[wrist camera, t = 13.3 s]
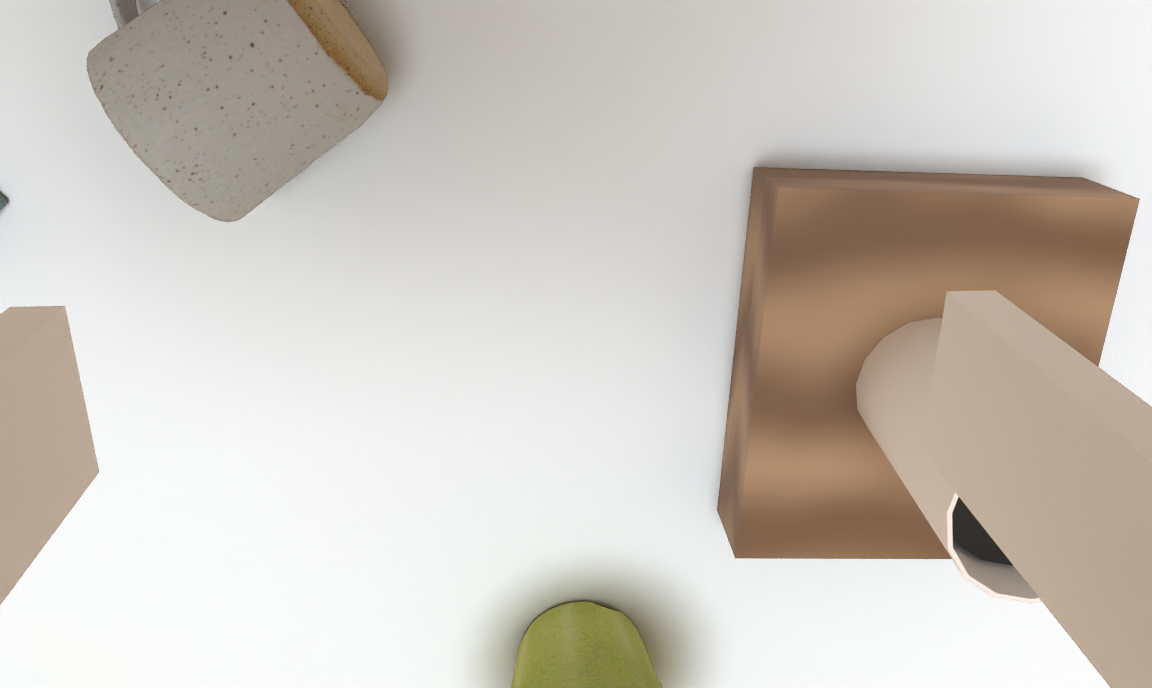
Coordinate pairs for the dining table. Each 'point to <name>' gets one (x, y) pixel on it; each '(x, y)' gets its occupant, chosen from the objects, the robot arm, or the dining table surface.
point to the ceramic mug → (234, 92)
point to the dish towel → (2, 201)
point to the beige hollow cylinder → (897, 422)
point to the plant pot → (583, 651)
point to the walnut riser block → (883, 331)
